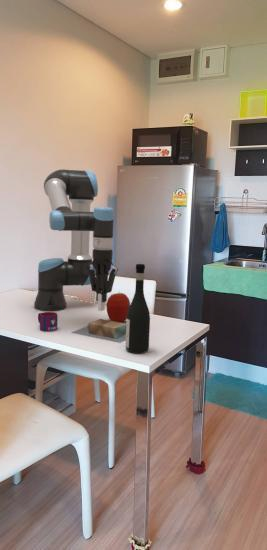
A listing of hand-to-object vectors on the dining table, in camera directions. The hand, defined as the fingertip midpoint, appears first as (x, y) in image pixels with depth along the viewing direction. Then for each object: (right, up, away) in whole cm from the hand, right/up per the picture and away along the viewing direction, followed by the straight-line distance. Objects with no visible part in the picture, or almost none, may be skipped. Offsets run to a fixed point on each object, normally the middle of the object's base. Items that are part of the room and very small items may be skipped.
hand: (101, 310), depth 165 cm
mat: (+1, -9, +1) cm, 10 cm away
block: (-3, -6, +2) cm, 7 cm away
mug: (-22, -8, +4) cm, 24 cm away
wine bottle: (+14, -13, -16) cm, 25 cm away
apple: (+6, -7, +19) cm, 21 cm away
